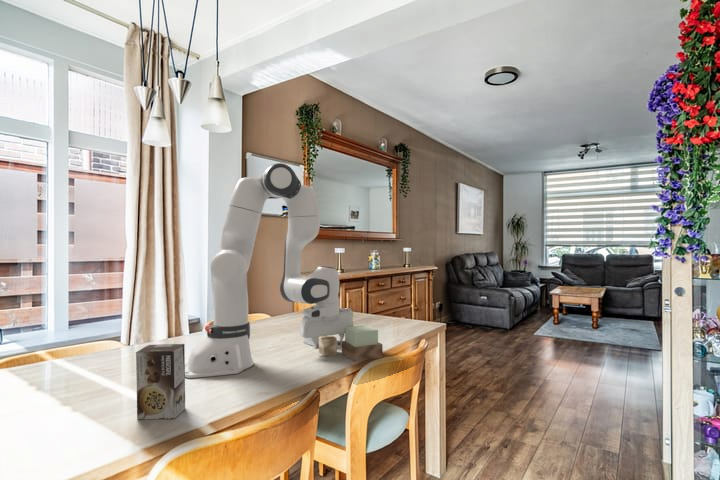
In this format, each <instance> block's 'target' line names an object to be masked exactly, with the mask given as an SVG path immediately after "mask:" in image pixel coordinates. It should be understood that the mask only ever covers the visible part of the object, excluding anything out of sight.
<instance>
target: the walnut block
mask: <svg viewBox="0 0 720 480" xmlns="http://www.w3.org/2000/svg"><path fill="white" fill-rule="evenodd" d="M383 347H384V346H383V343H381V342H379V341H378V344H375V345H367V346H360V347H354V346H352V345H351V344H349V343H347V342H346V341H345V340H342V345H341V354H342V355H343V356H345V357H347V358H348V359H350V360H352V362H355V363H356V362H361V361H368V360H375V359H381V358H383V357H384V356H383V355H384V353H383V352H384V351H383V350H384V349H383Z"/></svg>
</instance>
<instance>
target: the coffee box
mask: <svg viewBox="0 0 720 480" xmlns="http://www.w3.org/2000/svg"><path fill="white" fill-rule="evenodd" d="M185 351H186V350H185V343H170V344H169V343H167V344H161V343H160V344H148V345H146V346H144V347H143V348H140V349H138V351H136V352H135V366H136V367H135V369H136V371H135V372H136V420H137V419H145V420H160V419H159V418H165V419H167V418H168V419H169V420H171V418H173V419H176V418H178V416H179V415H180V414H181V413H183V411H184V410H185V409H186V377H185V364H186V363H185V358H186V357H185ZM165 419H164V420H165Z"/></svg>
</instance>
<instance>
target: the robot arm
mask: <svg viewBox="0 0 720 480" xmlns="http://www.w3.org/2000/svg"><path fill="white" fill-rule="evenodd" d="M268 199H282V200H283V201H284V202H285V204H286V207H287V233H286V234H287V235H286V237H285V241H284V250H283V251H284V255H283V256H284V257H283V274H282V278H281V282H280V286H279V291H280V295H281V297H282V298H283V300H285V301H287V302H289V303H301V304H306V305H312V304H314V305H312V306H309V307H307V308H304V309H303V310H302V315H304V317H303V316H302V318H301V321H300V332H299V333H300V336H301V337H302V338H303V339H304V338H311V341H312V342H313V344H314V346H313V349H314V350H319V344H318V343H316V342H315V340H316V337H320V336H329V335H332V336H335V335H338V336H339V337H338V338H337V347H342V341H344V339H345V328H347V327H355V326H354V319H353V318H354V312H353V309H351V308H349V307H344V308H340V297H339V293H340V278H339V272H338V269H337V268H335V267H332V266H325V265H319V266H317V268H316V269H315V270H314V271H313V272H311V273H310V274H307V275H302V273H301V267H302V266H301V265H302V253H303V252H302V251H303V250H304V248H305V247H306V246H307V245H308V244H309V243H311V242H313V240H314V239H316V238H317V236H318V235H319V232H320V227H321V222H320V221H321V220H320V208H319V207H320V206H319V202H318V197H317V192H316V190H315V189H314V188H313V187H312V186H309V185H307V184H306V185H305V184H302V182H301V180H300V179H299V177H298V176H297V174H296V172H295V171H294V170H293V169H292V167H291V166H289V165H288V164H285V163H278V162H277V163H273V164H271V165H269V166H268V167H267V168H266V169H265V171H264V172H263V174H262V175H261V176H260V177H258V178H254V177H251V176H250V177H249V176H247V177H242V178H240V179H239V180H238V181H237V183H236V185H235V186H234V189H233V191H232V194H231V195H230V199H229V204H228V207H227V210H226V213H225V218H224V222H223V226H222V233H221V240H220V245H219V251H218V252H217V253H216V254H215V255H214V256H213V258H212V259H211V260H210V268H209V269H210V279H211V281H210V283H211V290H212V297H213V324H211V325H210V324H206V325H205V326H204V330H205V332H206V334H207V335H206V337H205V338H204V339H203V340H201V341H200V342H199V343H198V344H196V345H195V346H194V347H193V348H192V349H191V350H190V353H189V355H188V361H187V363H185V379H186V378H187V379H195V378H196V379H197V378H206V377H215V376H226V375H236V374H239V373H241V372H243V371H245V370H246V369H249V368H251V367H252V366H253V365H254V360H253V357H252V351H251V346H250V345H251V344H250V337H251V325H250V324H251V323H250V321H249V294H248V276H247V275H248V274H247V273H248V271H249V268H250V267H251V266H250V265H251V261H252V256H253V253H254V247H255V243H256V237H257V233H258V228H259V225H260V222H261V218H262V213H263V209H264V205H265V203H266V201H267V200H268Z"/></svg>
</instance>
